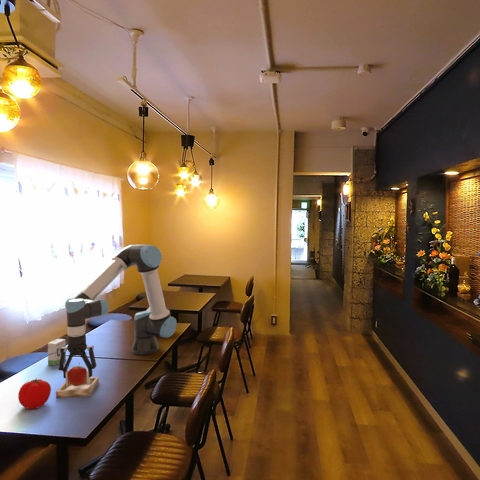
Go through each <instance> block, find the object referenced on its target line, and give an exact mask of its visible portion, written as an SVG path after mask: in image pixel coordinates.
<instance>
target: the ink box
mask: <svg viewBox="0 0 480 480" xmlns="http://www.w3.org/2000/svg"><path fill="white" fill-rule="evenodd" d="M62 347H67V346H66V338H65V339H64V338H56V339H54V340H52V341H50V342H48V343H47V365H48V366H57V365H59V364H60V357H61V351H60V349H61V348H62ZM64 361H67V354H65V360H64Z"/></svg>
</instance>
